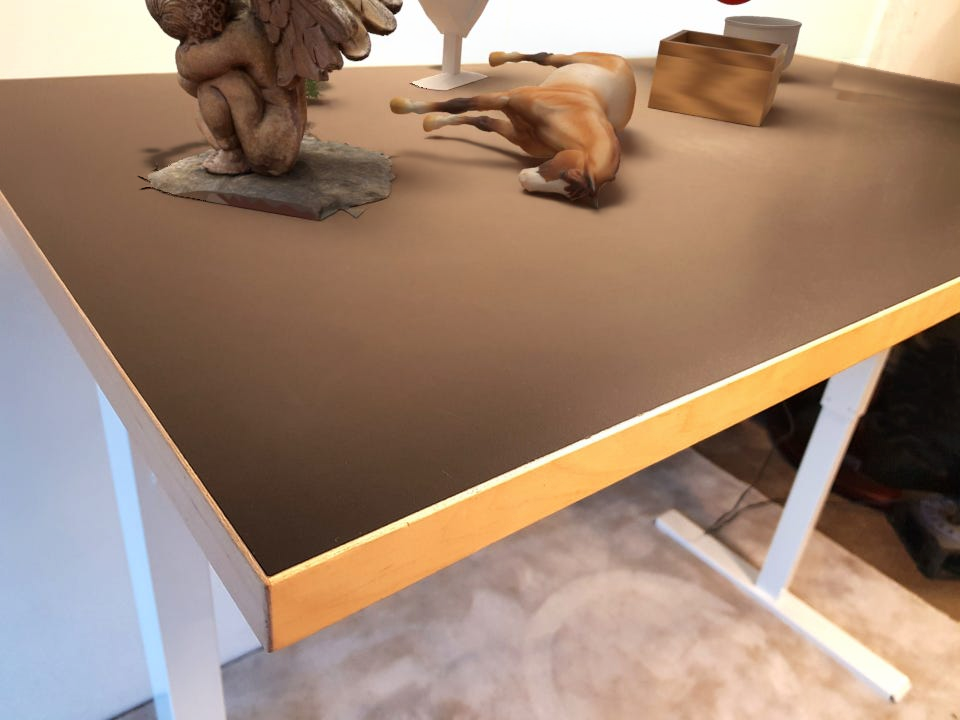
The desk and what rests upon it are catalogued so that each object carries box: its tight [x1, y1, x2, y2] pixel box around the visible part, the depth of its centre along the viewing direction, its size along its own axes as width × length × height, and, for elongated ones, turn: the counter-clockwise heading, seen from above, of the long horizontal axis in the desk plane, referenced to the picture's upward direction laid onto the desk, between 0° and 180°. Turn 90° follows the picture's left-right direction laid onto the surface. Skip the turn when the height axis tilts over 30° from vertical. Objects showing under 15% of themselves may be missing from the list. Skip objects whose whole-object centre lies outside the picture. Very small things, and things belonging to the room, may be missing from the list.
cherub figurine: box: [144, 0, 404, 222], centre depth 58 cm, size 18×18×18 cm
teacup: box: [722, 15, 803, 73], centre depth 119 cm, size 14×11×8 cm
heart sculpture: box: [411, 0, 490, 91], centre depth 94 cm, size 16×5×18 cm, turn 153°
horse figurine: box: [389, 51, 637, 209], centre depth 74 cm, size 31×8×21 cm
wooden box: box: [647, 29, 788, 128], centre depth 95 cm, size 13×13×8 cm
